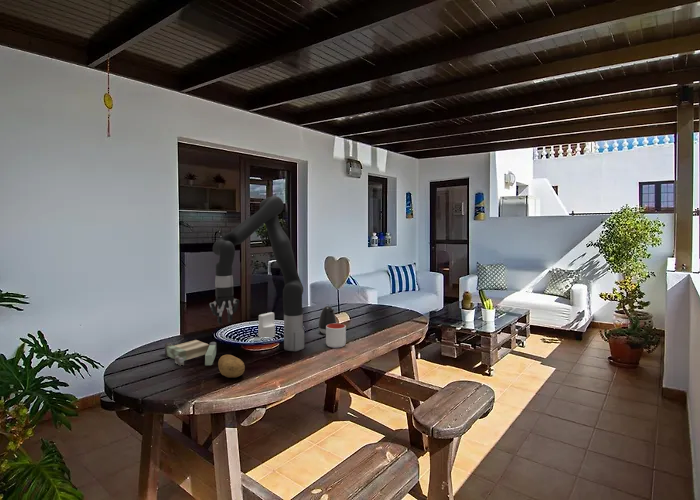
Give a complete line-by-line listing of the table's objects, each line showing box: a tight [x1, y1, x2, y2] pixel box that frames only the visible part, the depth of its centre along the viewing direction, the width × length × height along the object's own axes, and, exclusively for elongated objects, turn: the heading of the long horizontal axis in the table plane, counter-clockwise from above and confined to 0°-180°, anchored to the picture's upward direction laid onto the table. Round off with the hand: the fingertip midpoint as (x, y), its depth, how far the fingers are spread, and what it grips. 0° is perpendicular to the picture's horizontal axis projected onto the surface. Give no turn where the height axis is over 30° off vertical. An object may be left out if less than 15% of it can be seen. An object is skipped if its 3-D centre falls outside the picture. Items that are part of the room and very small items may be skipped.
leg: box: [204, 341, 217, 366], centre depth 182 cm, size 17×3×5 cm, turn 12°
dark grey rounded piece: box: [318, 305, 337, 335], centre depth 223 cm, size 10×10×15 cm
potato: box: [217, 354, 246, 379], centre depth 163 cm, size 10×14×8 cm
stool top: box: [164, 339, 210, 367], centre depth 186 cm, size 20×17×5 cm
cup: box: [325, 322, 347, 349], centre depth 203 cm, size 10×10×10 cm
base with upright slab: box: [257, 311, 276, 338], centre depth 218 cm, size 9×9×12 cm
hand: (225, 323), depth 179 cm, fingers open, 3 cm apart
